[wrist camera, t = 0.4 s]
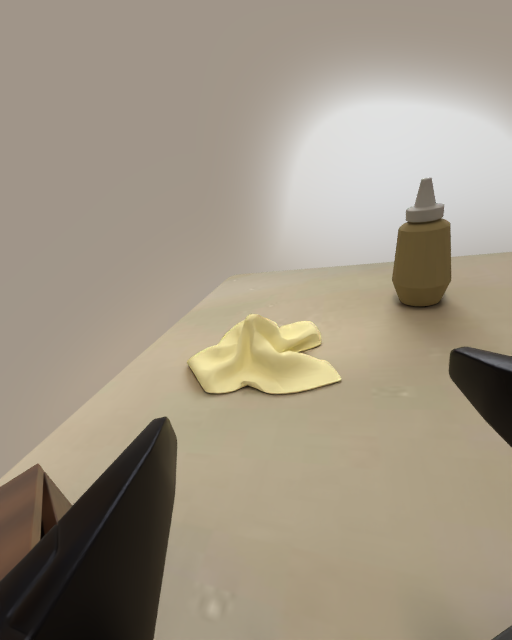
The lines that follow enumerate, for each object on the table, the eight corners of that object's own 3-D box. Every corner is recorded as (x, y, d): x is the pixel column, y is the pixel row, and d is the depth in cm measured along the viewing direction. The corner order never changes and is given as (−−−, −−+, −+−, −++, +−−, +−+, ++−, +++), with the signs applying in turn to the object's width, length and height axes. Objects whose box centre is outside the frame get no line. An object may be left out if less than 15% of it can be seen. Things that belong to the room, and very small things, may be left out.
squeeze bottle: (380, 300, 49) (380, 186, 41) (415, 286, 51) (421, 175, 43) (423, 316, 42) (432, 182, 34) (461, 298, 44) (478, 169, 36)
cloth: (166, 385, 39) (150, 348, 37) (233, 320, 53) (225, 290, 51) (329, 418, 29) (323, 369, 26) (358, 326, 43) (356, 288, 40)
